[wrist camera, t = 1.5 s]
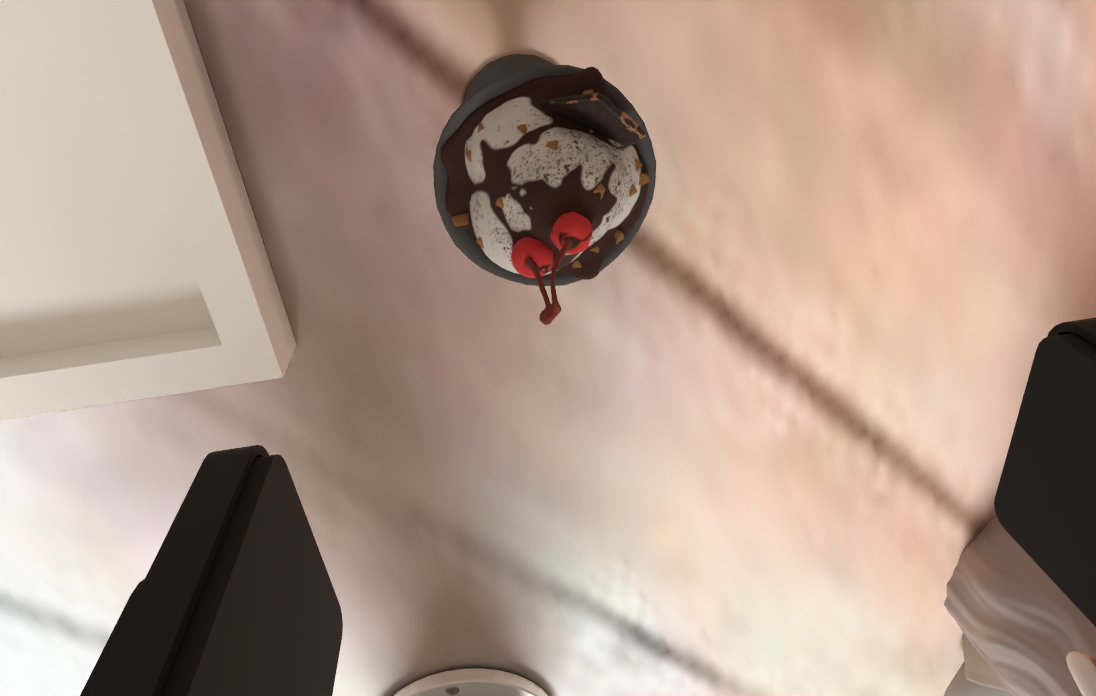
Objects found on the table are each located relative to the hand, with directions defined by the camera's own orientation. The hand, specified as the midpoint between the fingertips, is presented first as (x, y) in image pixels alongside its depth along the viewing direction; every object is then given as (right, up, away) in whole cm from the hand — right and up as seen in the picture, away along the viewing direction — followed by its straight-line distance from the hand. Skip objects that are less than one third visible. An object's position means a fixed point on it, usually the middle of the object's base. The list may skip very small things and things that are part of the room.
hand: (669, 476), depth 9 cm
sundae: (-3, +11, +21) cm, 24 cm away
